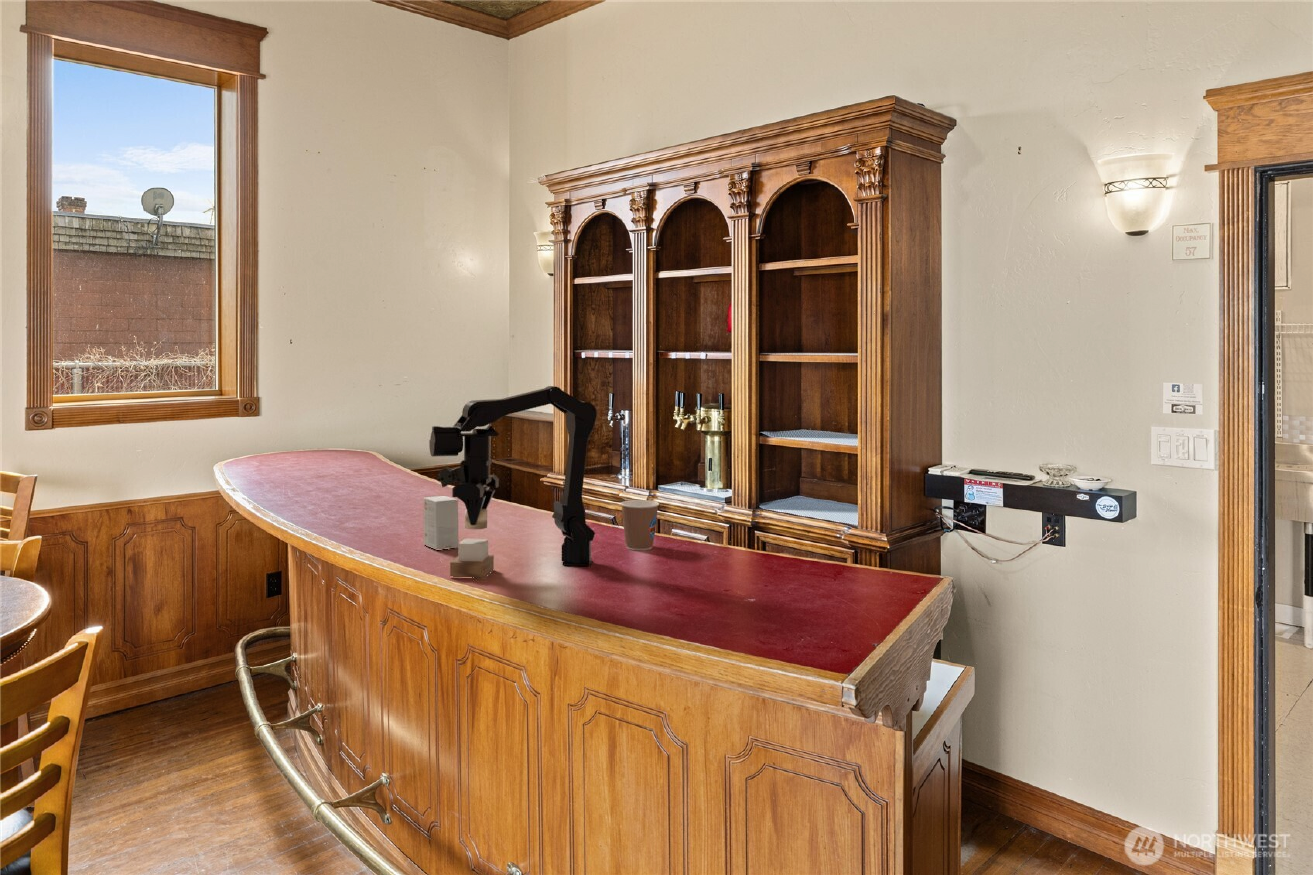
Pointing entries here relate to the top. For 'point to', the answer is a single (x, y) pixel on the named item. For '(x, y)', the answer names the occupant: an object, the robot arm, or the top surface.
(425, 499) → the small box
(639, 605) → the top surface
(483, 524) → the birch puck
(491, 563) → the walnut slab
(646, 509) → the coffee cup
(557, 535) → the top surface
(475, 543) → the grey block
